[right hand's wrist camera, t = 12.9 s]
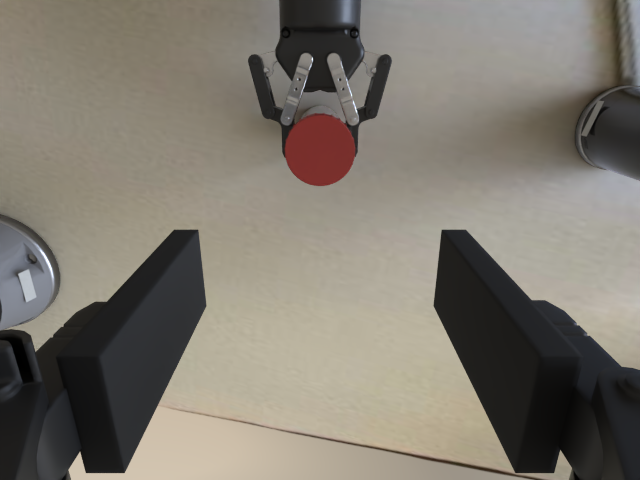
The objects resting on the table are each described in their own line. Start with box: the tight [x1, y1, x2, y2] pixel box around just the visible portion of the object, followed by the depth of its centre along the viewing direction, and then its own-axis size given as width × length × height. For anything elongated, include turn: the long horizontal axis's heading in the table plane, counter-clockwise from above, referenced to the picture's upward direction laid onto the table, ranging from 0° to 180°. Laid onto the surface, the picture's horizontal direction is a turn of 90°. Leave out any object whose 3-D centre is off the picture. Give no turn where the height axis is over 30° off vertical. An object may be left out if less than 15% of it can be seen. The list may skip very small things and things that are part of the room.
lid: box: [284, 112, 356, 186], centre depth 36 cm, size 6×6×2 cm
